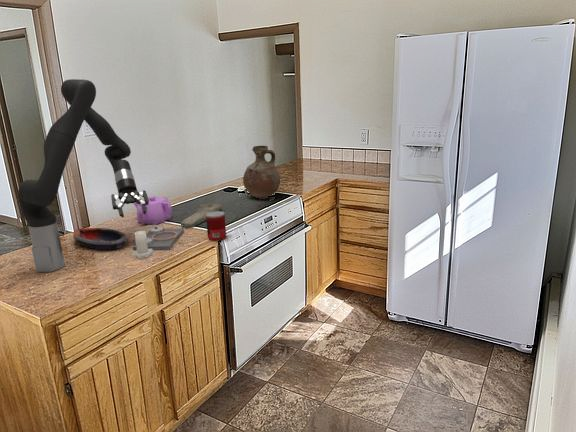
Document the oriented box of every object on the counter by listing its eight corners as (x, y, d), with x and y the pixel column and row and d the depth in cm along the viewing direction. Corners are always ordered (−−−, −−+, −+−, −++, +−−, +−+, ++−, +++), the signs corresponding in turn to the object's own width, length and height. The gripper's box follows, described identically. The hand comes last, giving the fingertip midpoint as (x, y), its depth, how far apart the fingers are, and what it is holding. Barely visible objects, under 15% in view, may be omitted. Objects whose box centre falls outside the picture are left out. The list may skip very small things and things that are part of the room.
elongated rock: (175, 231, 206) (194, 233, 204) (174, 220, 204) (193, 222, 202) (208, 207, 238) (225, 209, 235) (208, 198, 236) (225, 200, 233)
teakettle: (140, 227, 208) (137, 202, 204) (134, 218, 222) (131, 195, 219) (176, 222, 215) (173, 197, 211) (168, 213, 230) (165, 191, 226)
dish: (104, 256, 173) (102, 244, 172) (64, 242, 191) (62, 231, 189) (137, 244, 185) (136, 233, 184) (96, 232, 203) (95, 222, 201)
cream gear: (149, 258, 169) (146, 235, 166) (129, 258, 169) (126, 235, 166) (156, 251, 176) (153, 229, 174) (137, 251, 177) (134, 229, 174)
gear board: (169, 249, 178) (168, 241, 177) (133, 250, 178) (132, 242, 177) (184, 231, 200) (183, 224, 199) (151, 232, 200) (150, 224, 199)
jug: (237, 197, 259) (234, 146, 250) (265, 191, 272) (263, 143, 263) (259, 204, 243) (256, 150, 234) (288, 197, 256) (286, 145, 248)
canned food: (229, 237, 190) (228, 213, 187) (215, 242, 185) (213, 217, 182) (218, 233, 195) (217, 210, 192) (204, 238, 190) (202, 214, 187)
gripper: (107, 179, 178) (115, 212, 172) (143, 175, 184) (152, 207, 178) (107, 189, 184) (115, 222, 178) (142, 185, 190) (151, 216, 184)
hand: (133, 214), depth 178 cm, fingers open, 8 cm apart
